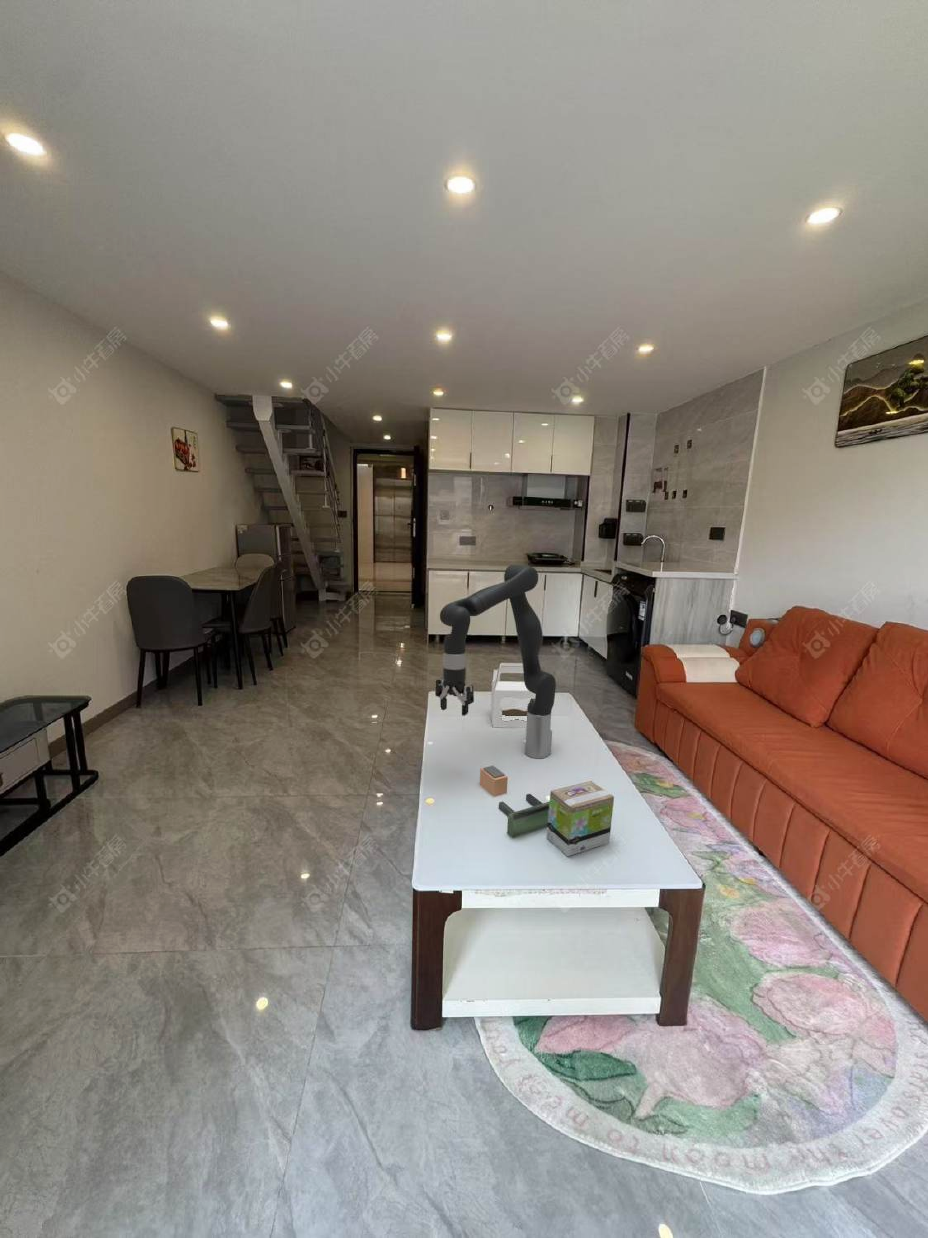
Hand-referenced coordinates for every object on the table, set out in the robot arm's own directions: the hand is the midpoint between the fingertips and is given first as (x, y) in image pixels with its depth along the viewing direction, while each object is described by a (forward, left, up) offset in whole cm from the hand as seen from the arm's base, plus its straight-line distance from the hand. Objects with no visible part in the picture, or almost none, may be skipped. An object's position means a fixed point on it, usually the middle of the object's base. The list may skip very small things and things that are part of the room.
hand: (454, 712), depth 167 cm
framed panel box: (-10, +10, -25) cm, 29 cm away
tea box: (-16, +45, -26) cm, 54 cm away
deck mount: (-11, +29, -25) cm, 40 cm away
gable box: (-51, -35, -26) cm, 67 cm away
